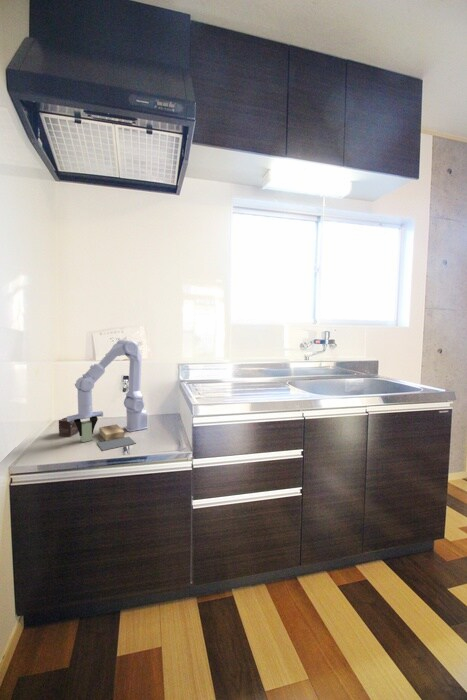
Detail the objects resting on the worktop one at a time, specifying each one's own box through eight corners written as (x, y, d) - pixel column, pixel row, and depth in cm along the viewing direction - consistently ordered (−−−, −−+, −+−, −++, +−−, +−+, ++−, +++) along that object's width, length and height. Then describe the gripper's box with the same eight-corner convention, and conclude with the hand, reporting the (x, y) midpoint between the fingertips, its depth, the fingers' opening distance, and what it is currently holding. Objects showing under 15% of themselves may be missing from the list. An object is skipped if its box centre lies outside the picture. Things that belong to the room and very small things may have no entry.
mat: (129, 437, 152) (129, 436, 152) (136, 443, 145) (136, 443, 145) (96, 443, 144) (96, 442, 144) (102, 450, 137) (102, 450, 137)
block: (90, 437, 151) (89, 420, 150) (92, 440, 148) (91, 422, 147) (80, 439, 149) (80, 421, 148) (82, 442, 145) (81, 424, 145)
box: (70, 436, 152) (69, 421, 152) (58, 435, 153) (58, 420, 153) (78, 432, 158) (78, 417, 157) (67, 431, 159) (67, 416, 159)
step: (116, 430, 162) (116, 424, 161) (124, 437, 152) (124, 431, 151) (99, 433, 157) (99, 427, 157) (106, 441, 147) (105, 434, 147)
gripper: (68, 409, 139) (69, 440, 140) (104, 404, 147) (105, 433, 149) (65, 405, 145) (67, 435, 146) (100, 400, 153) (101, 429, 154)
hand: (86, 434), depth 148 cm, fingers closed on block, 4 cm apart
